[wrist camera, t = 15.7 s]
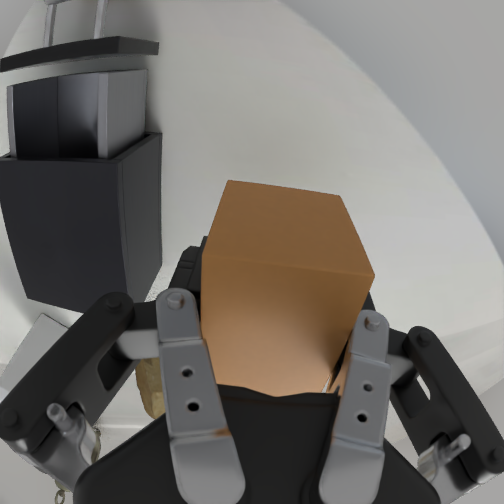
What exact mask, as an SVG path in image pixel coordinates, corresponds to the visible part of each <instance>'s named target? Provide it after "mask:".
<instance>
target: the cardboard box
mask: <svg viewBox="0 0 504 504" xmlns="http://www.w3.org/2000/svg"><path fill="white" fill-rule="evenodd" d="M374 278H375V274H374V271H373V269H372V267H371V264H370V262H369V259H368V257H367V255H366V252H365V250H364V247H363V245H362V243H361V240H360V238H359V236H358V234H357V231H356V229H355V227H354V225H353V222H352V220H351V218H350V216H349V214H348V212H347V209H346V207H345V205H344V203H343V201H342V199H341V197H340V196H339V195H333V194H327V193H320V192H314V191H308V190H301V189H294V188H287V187H280V186H273V185H266V184H258V183H250V182H242V181H233V180H228V181H227V183H226V186H225V189H224V192H223V195H222V197H221V200H220V203H219V206H218V209H217V212H216V215H215V218H214V220H213V223H212V226H211V229H210V232H209V235H208V238H207V241H206V244H205V247H204V250H203V253H202V269H201V321H200V326H201V331H202V335H203V338H205V339H206V341H207V345H208V349H209V353H210V358H211V362H212V366H213V370H214V375H215V379H216V383H217V384H223V385H231V386H240V387H246V388H249V389H252V390H255V391H258V392H261V393H264V394H268V395H271V396H275V397H280V396H287V395H293V394H299V393H305V392H315V393H321V392H322V390H323V388H324V386H325V384H326V382H327V380H328V379H329V377H330V375H331V373H332V371H333V369H334V367H335V365H336V363H337V361H338V359H339V357H340V355H341V353H342V350H343V348H344V346H345V344H346V342H347V340H348V338H349V336H350V333H351V331H352V329H353V327H354V325H355V322H356V320H357V318H358V316H359V313H360V311H361V309H362V307H363V304H364V302H365V300H366V297H367V295H368V292H369V290H370V288H371V285H372V283H373V280H374Z"/></svg>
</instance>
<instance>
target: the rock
mask: <svg viewBox="0 0 504 504" xmlns="http://www.w3.org/2000/svg"><path fill="white" fill-rule="evenodd" d="M135 371H136V373H135V374H136V380H137V386H138V388H139V390H140V395H141V398H142V402H143V405H144V408H145V411H146V412H147V413H148V415H149V416H151V417H152V418H154V419H157V418H158V417H159V416H161V415H162V414H163V413H165V405H164V397H163V389H162V380H161V371H160V361H159V357H158V358H147V359H142V360H141V361H140V363H139V364H138V365H137V367H136V368H135Z"/></svg>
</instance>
